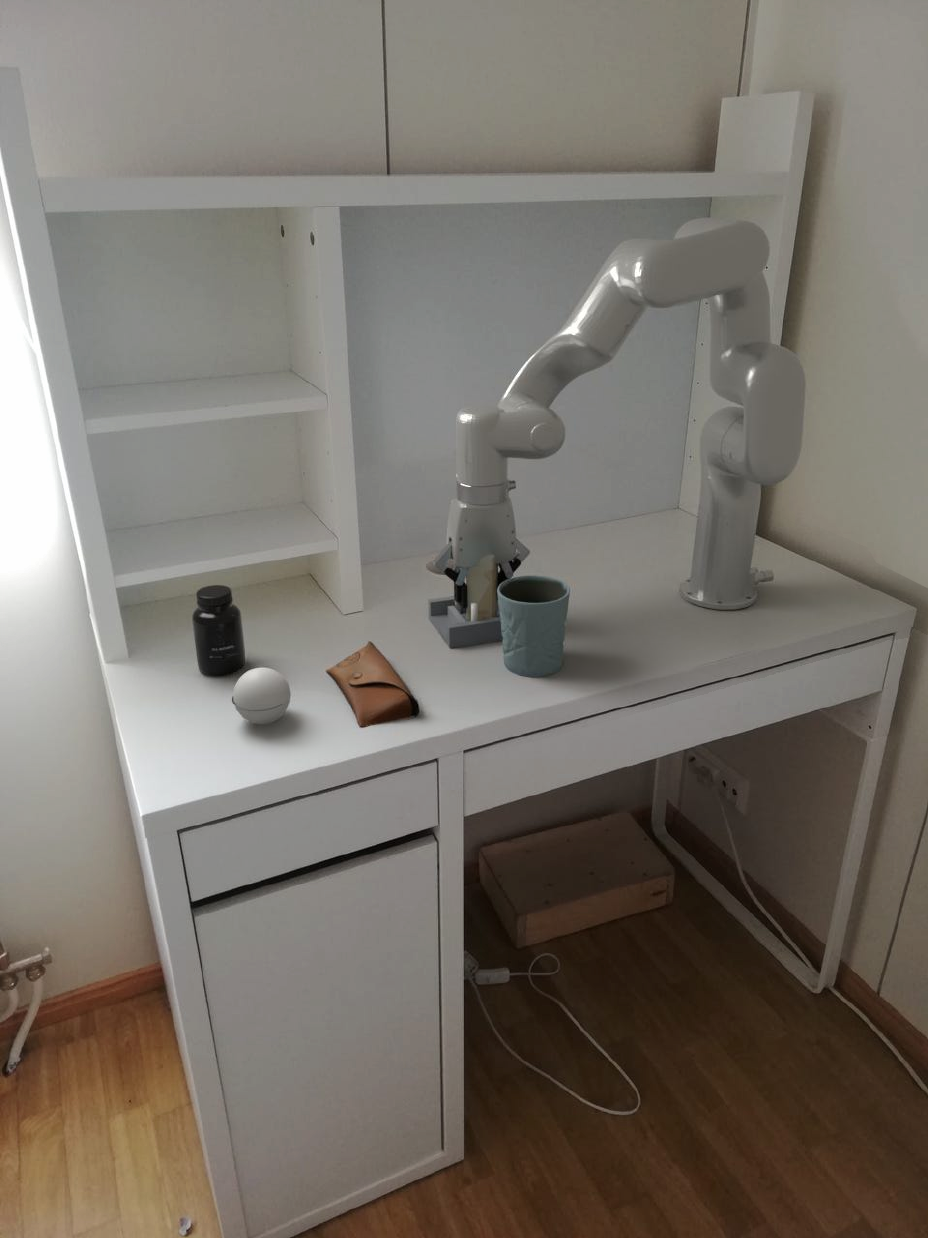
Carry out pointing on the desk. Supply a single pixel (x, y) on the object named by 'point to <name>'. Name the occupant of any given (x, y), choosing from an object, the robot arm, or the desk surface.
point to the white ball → (261, 695)
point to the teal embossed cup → (533, 624)
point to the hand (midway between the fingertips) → (482, 601)
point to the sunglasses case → (373, 688)
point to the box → (483, 588)
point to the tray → (462, 623)
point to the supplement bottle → (218, 632)
